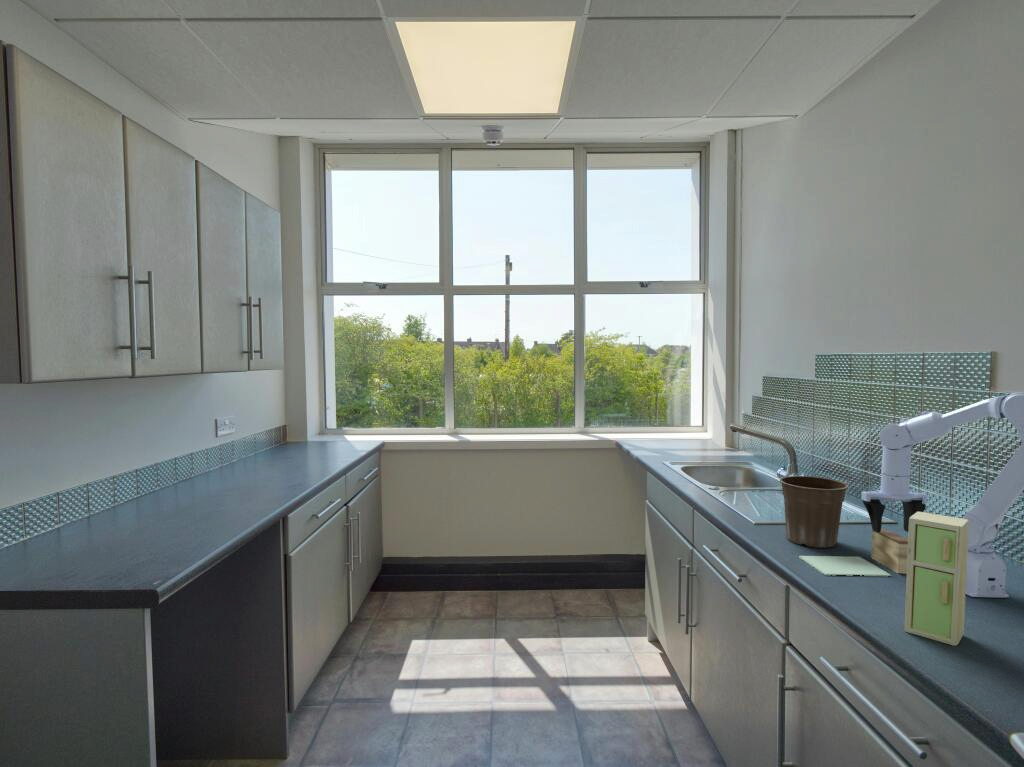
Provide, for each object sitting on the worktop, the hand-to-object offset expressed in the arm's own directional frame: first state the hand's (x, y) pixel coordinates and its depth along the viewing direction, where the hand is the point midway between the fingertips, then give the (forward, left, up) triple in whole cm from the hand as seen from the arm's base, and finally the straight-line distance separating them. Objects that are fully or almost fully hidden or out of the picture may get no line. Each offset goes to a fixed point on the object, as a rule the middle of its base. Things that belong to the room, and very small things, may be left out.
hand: (892, 531), depth 143 cm
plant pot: (+18, +10, -9) cm, 22 cm away
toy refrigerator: (-35, +15, -9) cm, 39 cm away
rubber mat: (-1, +12, -8) cm, 15 cm away
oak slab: (0, 0, -8) cm, 8 cm away
